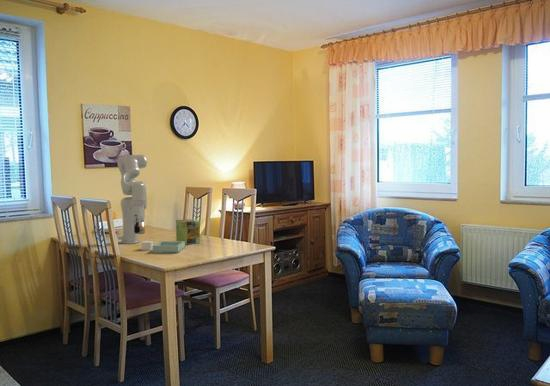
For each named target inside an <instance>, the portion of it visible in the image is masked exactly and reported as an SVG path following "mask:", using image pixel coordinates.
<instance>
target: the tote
mask: <svg viewBox="0 0 550 386" xmlns="http://www.w3.org/2000/svg"><path fill="white" fill-rule="evenodd" d="M185 249H186V245H185V241H176V240H173V241H170V240H169V241H168V240H166V241H164V240H160V241H159V242H157V243H155V244H154V245H153V249H152V254H179V253H180V252H182V251H183V250H185ZM181 250H182V251H181Z"/></svg>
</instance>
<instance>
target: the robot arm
mask: <svg viewBox="0 0 550 386" xmlns="http://www.w3.org/2000/svg"><path fill="white" fill-rule="evenodd" d="M147 159H148V158H147V157H146V156H145V155H144V154H129V155H126V156H124V155H123V156H120V157H118V158H117V161H116V162H117V167H118V169H119V172H120V175H121V179H120V185H121V191H122V194H123V195H124V196H127V197H123V198H122V199H120V207H121V214H122V218H121V219H122V236H117V240H121V241H120V243H121V244H122V245H123V244H125V245H129V244H132V245H133V244H138V243H141V242H140V241H141V240H140V239H138V234H134V232H135V233H140V226H139V223H140V222H141V221H144V222H145V219H146V216H145V210H147V207H148V203H147V202H148V201H147V200H148V199H147V197H148V196H147V185H146V183H145V182H144V181H143V180H142V181H141V180H140V181H139V180H135V179H136V178H138V177H139V175H140V173H141V170H140V169H144V168H146V167H147V164H148V160H147ZM128 196H129V197H128ZM137 223H138V224H137Z"/></svg>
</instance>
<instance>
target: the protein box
mask: <svg viewBox="0 0 550 386" xmlns="http://www.w3.org/2000/svg"><path fill="white" fill-rule="evenodd" d="M200 224H201V223H200V220H196V219H190V218H187V219H186V218H185V219H176V220H175V234H176V235H175V241H185V246H191V245H196V244H200V243H201V226H200Z"/></svg>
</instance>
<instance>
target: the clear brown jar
mask: <svg viewBox="0 0 550 386" xmlns="http://www.w3.org/2000/svg"><path fill="white" fill-rule="evenodd" d="M137 224H138V223H137ZM139 226H140V233H135V232H134V234H137V235H144V234H145V233H146V230H145V228H146V227H145V226H146V225H145V220H144V221H141V222H140V223H139Z"/></svg>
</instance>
